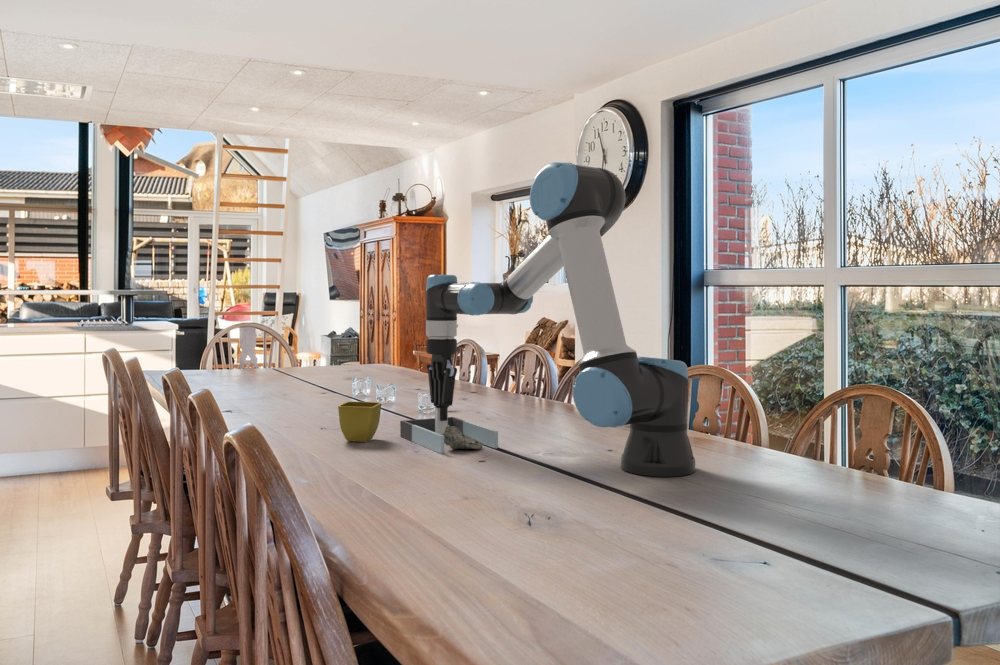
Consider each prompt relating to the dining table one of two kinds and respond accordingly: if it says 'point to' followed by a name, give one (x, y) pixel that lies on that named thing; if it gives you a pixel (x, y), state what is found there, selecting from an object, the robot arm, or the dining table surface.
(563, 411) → the dining table surface
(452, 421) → the grey open box
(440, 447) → the strips
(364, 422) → the flower pot
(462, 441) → the rock sample
